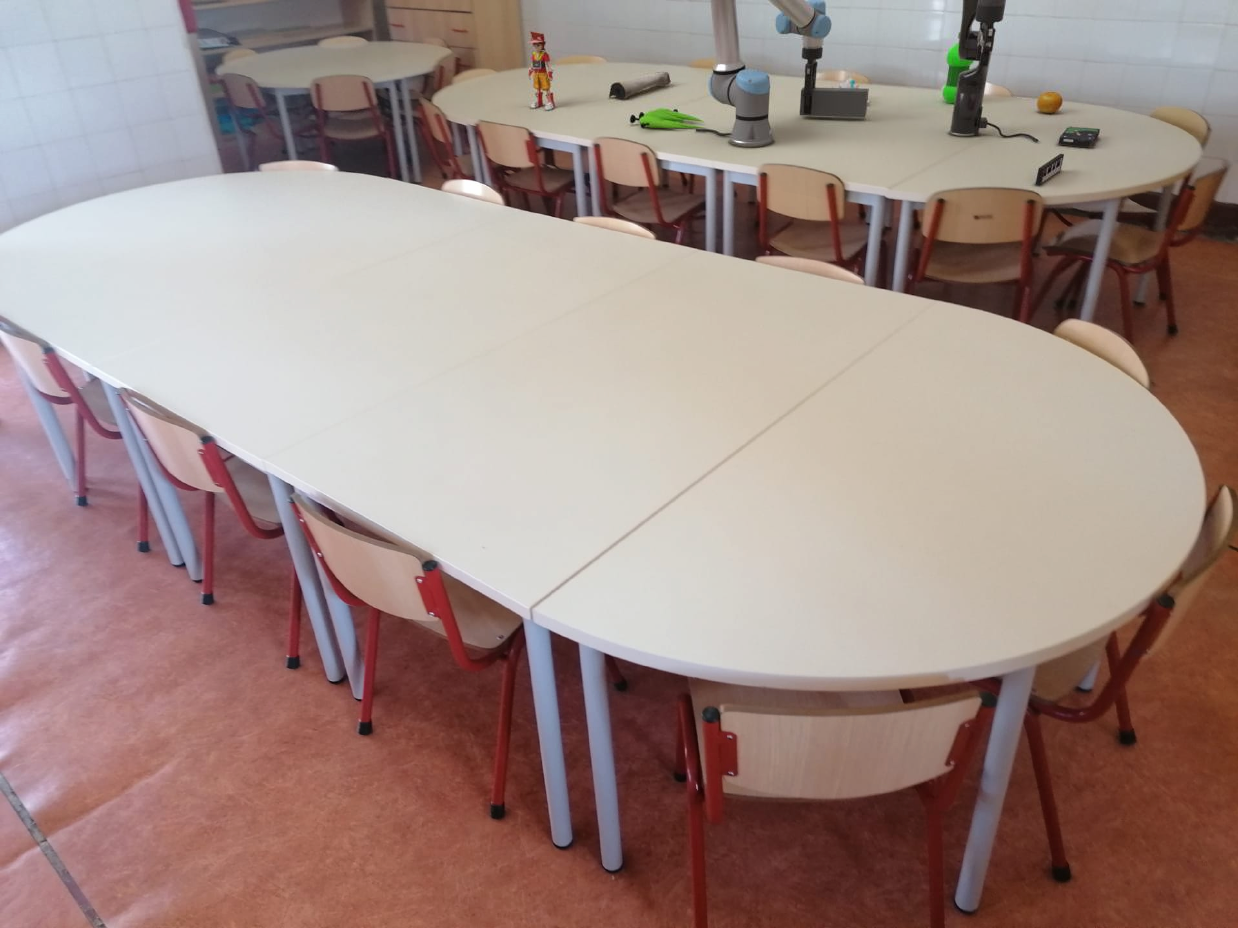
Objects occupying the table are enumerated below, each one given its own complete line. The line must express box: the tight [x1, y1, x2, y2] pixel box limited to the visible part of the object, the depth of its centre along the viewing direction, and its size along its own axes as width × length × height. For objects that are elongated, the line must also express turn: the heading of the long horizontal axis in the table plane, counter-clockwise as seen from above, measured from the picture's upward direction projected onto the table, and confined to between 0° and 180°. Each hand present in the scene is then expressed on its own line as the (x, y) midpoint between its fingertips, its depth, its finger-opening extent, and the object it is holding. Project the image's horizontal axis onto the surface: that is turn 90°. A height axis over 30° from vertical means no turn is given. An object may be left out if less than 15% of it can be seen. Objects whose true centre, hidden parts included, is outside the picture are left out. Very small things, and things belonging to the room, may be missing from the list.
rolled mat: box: [608, 71, 672, 101], centre depth 395 cm, size 30×9×10 cm
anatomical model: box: [838, 76, 872, 105], centre depth 360 cm, size 15×10×10 cm
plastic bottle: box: [942, 31, 974, 104], centre depth 348 cm, size 10×10×25 cm
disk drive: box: [1057, 126, 1101, 148], centre depth 303 cm, size 10×3×15 cm
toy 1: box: [527, 31, 556, 111], centre depth 374 cm, size 12×9×30 cm
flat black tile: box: [1035, 153, 1065, 186], centre depth 273 cm, size 18×1×5 cm, turn 138°
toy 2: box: [629, 107, 705, 129], centre depth 347 cm, size 28×5×30 cm
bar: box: [799, 87, 870, 118], centre depth 340 cm, size 25×4×9 cm, turn 71°
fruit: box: [1036, 91, 1064, 114], centre depth 334 cm, size 8×8×8 cm
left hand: (808, 112), depth 346 cm, fingers closed on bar, 4 cm apart
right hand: (981, 63), depth 266 cm, fingers open, 8 cm apart
